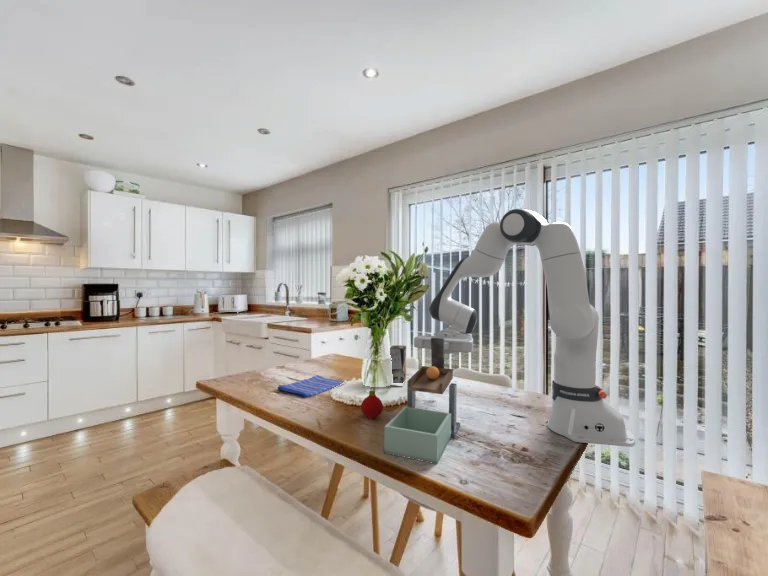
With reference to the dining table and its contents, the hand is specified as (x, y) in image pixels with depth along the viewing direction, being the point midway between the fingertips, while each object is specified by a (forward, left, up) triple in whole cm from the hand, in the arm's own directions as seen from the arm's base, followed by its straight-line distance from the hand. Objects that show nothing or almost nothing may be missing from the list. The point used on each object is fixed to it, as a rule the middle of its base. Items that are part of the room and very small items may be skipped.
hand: (438, 346), depth 115 cm
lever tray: (0, +8, -10) cm, 12 cm away
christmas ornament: (+20, +8, -24) cm, 32 cm away
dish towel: (+57, -12, -24) cm, 63 cm away
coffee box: (+26, -32, -24) cm, 48 cm away
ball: (0, +6, -7) cm, 9 cm away
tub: (0, +20, -24) cm, 31 cm away
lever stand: (0, +8, -24) cm, 25 cm away
